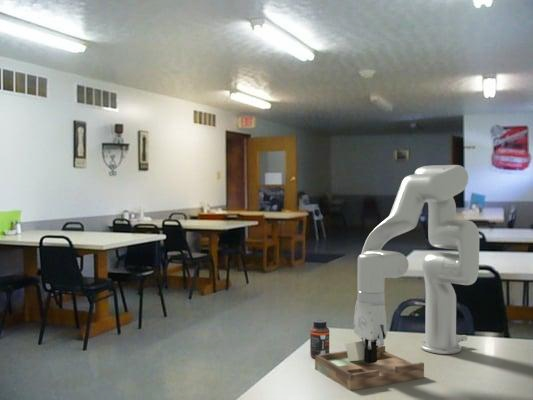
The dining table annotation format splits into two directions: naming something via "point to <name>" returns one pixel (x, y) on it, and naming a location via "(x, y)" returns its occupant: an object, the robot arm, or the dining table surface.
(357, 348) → the block
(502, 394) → the dining table surface
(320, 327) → the supplement bottle
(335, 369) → the tray
